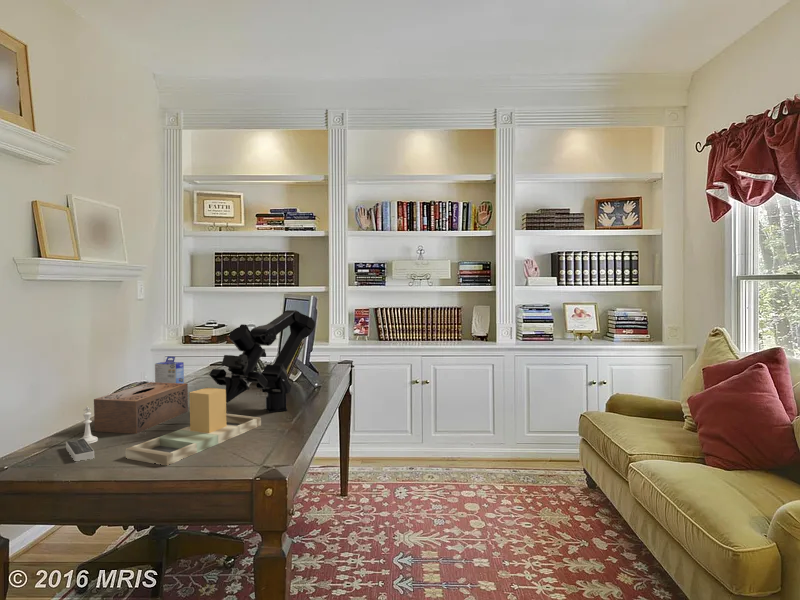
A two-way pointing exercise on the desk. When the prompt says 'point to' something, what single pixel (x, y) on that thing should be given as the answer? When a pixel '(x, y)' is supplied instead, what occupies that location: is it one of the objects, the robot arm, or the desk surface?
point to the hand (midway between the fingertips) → (225, 401)
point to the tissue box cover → (140, 407)
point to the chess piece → (88, 427)
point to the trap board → (189, 441)
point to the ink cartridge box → (169, 371)
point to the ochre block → (207, 410)
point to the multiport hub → (79, 449)
